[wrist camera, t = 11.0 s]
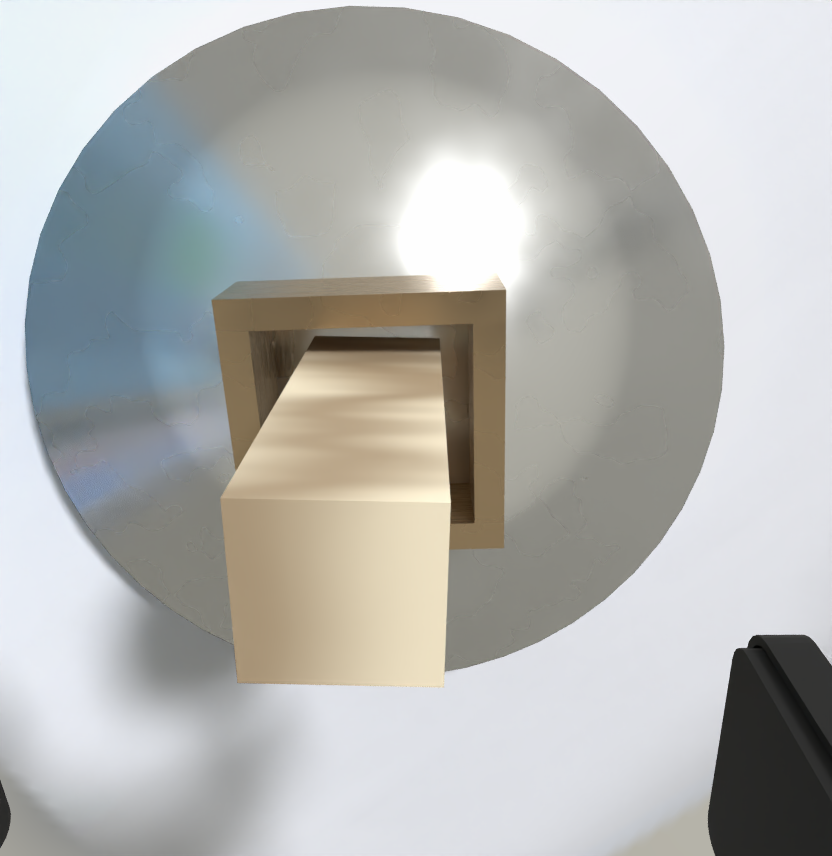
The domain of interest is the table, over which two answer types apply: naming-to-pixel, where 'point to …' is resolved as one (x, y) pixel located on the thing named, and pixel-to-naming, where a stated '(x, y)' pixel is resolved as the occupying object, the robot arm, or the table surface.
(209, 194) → the rosette plate
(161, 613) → the table surface
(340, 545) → the tan block
